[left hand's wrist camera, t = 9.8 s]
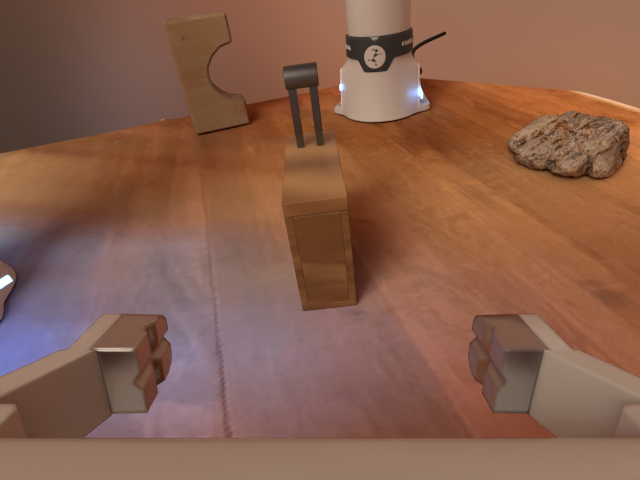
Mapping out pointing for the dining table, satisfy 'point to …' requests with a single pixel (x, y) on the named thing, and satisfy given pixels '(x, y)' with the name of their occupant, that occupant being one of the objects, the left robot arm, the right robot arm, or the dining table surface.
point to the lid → (310, 155)
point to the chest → (323, 259)
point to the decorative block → (204, 70)
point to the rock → (572, 144)
